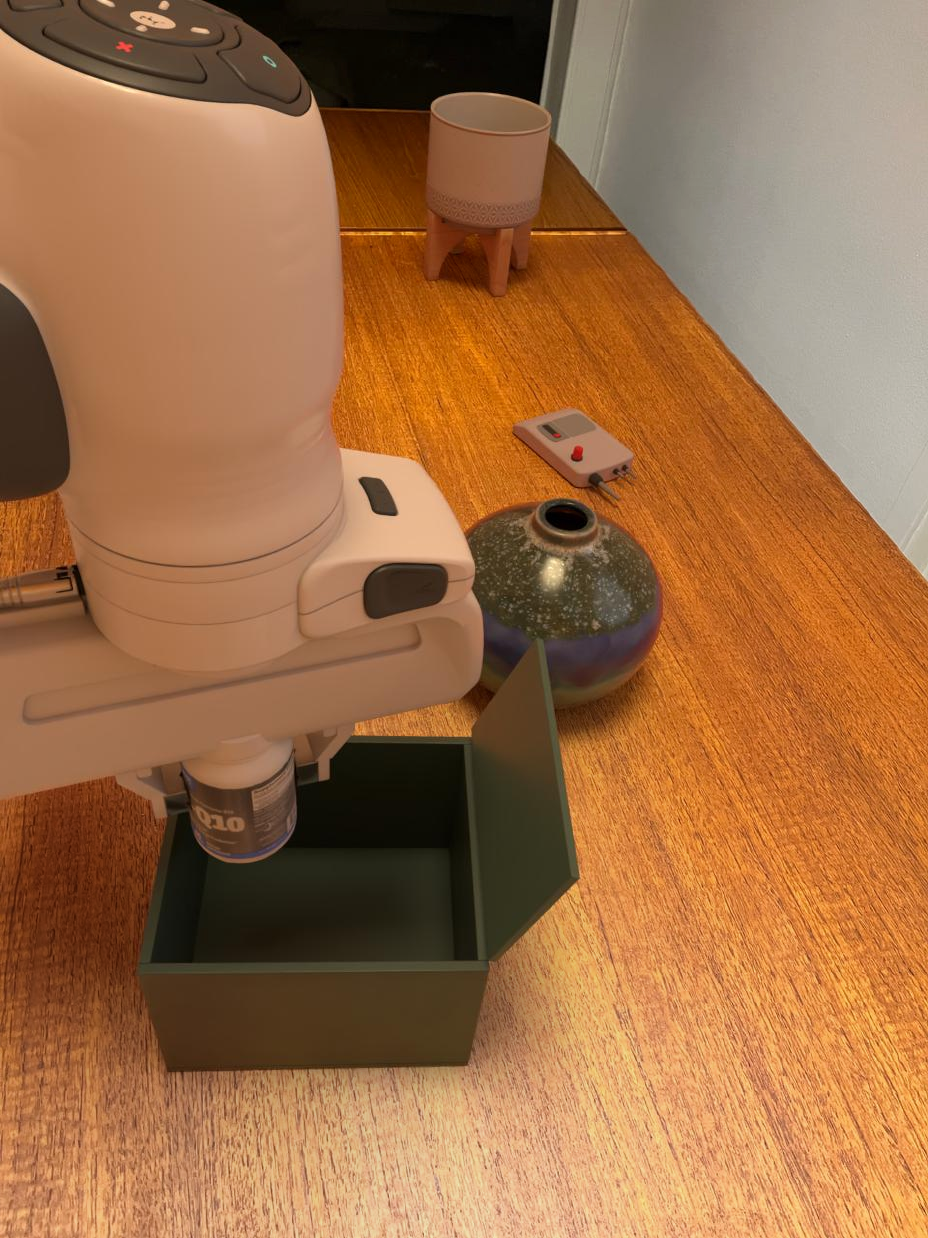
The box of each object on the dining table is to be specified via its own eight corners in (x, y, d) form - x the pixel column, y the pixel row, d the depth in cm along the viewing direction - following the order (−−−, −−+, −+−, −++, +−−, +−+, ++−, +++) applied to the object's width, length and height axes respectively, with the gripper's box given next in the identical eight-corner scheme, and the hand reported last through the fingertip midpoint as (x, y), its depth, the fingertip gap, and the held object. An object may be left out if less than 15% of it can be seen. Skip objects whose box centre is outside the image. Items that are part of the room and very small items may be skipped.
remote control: (555, 406, 96) (560, 379, 94) (661, 492, 87) (668, 465, 85) (500, 422, 93) (504, 395, 91) (604, 513, 84) (610, 485, 82)
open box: (456, 845, 59) (472, 736, 52) (468, 1066, 50) (489, 970, 42) (203, 845, 57) (183, 732, 50) (167, 1072, 48) (135, 974, 41)
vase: (509, 777, 63) (538, 632, 54) (393, 628, 72) (400, 481, 62) (686, 693, 70) (738, 551, 60) (559, 566, 78) (588, 425, 69)
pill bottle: (170, 829, 44) (144, 709, 38) (243, 763, 47) (229, 642, 41) (247, 886, 42) (232, 769, 37) (319, 814, 45) (315, 695, 40)
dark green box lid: (470, 728, 51) (477, 730, 51) (487, 961, 42) (496, 963, 42) (536, 637, 46) (543, 639, 47) (571, 876, 37) (580, 878, 37)
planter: (404, 254, 118) (411, 94, 105) (499, 243, 122) (517, 89, 110) (448, 303, 110) (462, 135, 97) (548, 289, 114) (573, 128, 102)
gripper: (-132, 671, 28) (-12, 913, 38) (518, 558, 34) (479, 790, 44) (-121, 536, 32) (-15, 785, 42) (458, 456, 38) (434, 689, 48)
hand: (242, 787), depth 43 cm, fingers closed on pill bottle, 5 cm apart
